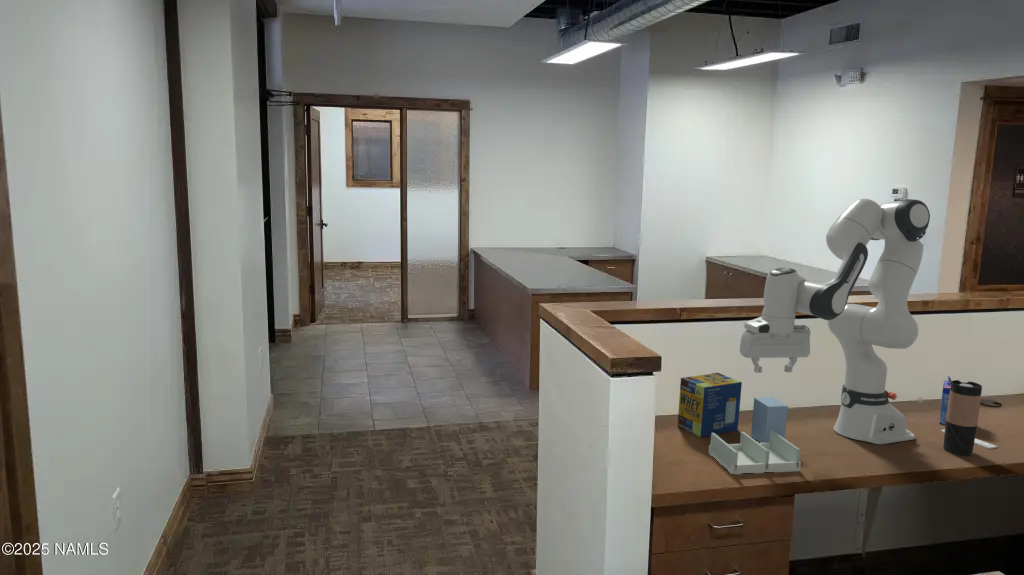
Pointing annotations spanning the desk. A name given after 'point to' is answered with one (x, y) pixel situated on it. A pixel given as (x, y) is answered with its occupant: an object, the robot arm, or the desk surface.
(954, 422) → the travel mug
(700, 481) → the desk surface
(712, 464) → the desk surface
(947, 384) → the ink cartridge box
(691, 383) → the protein box
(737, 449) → the slot rack
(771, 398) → the blue block
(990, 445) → the flat white bar
